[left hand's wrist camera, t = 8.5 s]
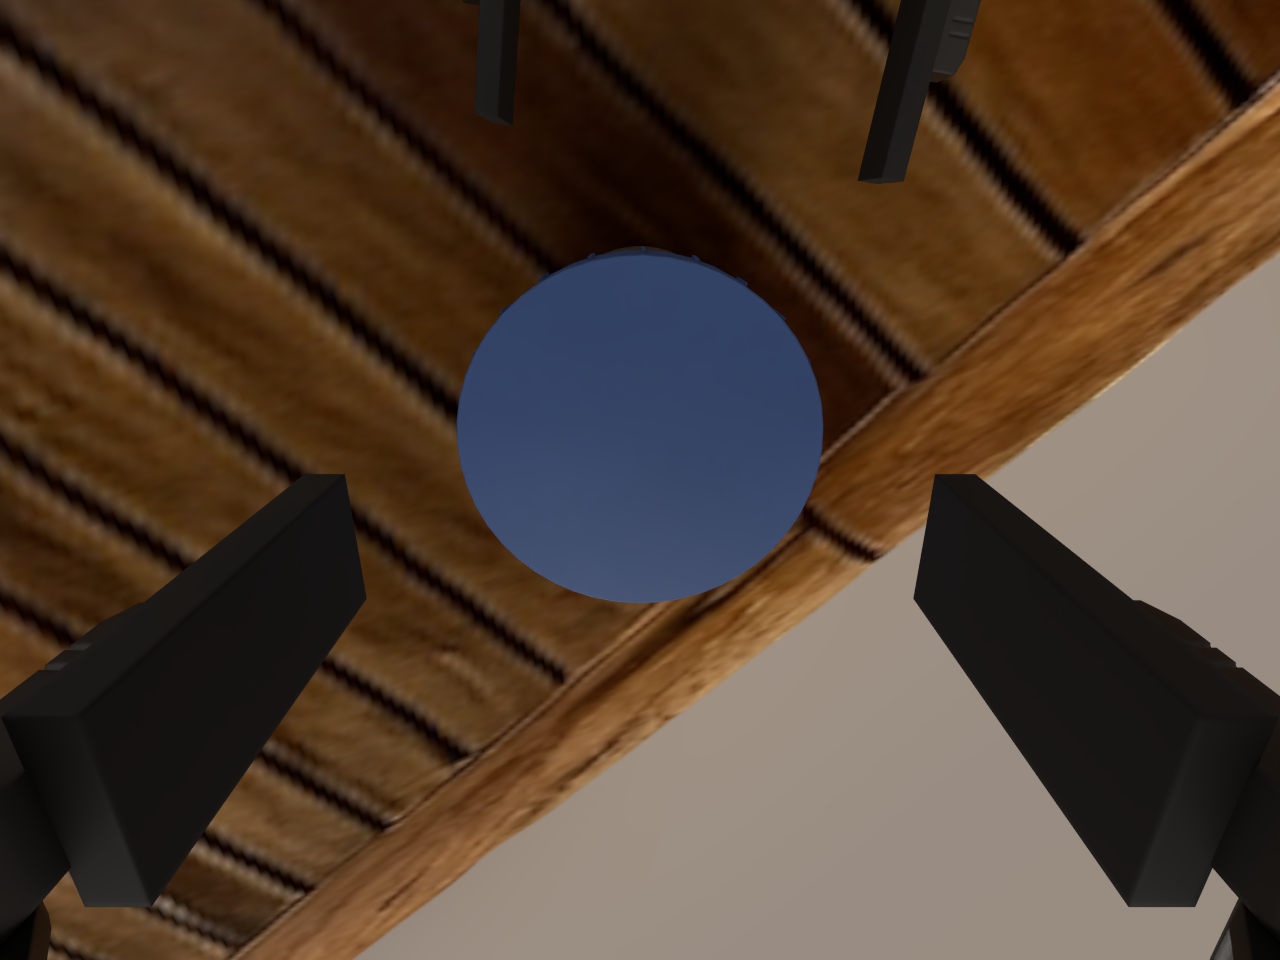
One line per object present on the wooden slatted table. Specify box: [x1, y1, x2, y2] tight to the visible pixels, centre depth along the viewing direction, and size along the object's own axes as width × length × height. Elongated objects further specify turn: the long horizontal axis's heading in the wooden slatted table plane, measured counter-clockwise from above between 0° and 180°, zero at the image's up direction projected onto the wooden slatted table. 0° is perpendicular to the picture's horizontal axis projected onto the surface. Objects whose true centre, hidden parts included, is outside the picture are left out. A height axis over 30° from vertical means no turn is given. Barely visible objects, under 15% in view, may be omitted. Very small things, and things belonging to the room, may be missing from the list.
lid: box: [457, 247, 823, 603], centre depth 19 cm, size 10×10×2 cm
